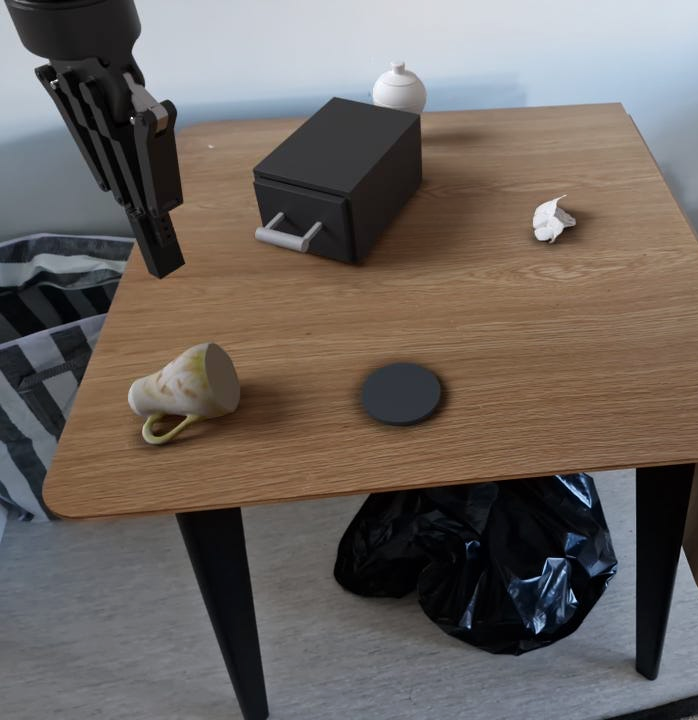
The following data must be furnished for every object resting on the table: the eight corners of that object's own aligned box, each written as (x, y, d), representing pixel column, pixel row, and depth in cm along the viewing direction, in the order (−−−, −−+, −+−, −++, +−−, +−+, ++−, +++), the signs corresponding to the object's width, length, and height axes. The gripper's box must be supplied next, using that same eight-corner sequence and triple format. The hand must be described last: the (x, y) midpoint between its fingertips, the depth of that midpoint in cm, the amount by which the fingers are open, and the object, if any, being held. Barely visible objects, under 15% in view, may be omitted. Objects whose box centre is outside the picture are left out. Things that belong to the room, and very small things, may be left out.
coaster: (421, 435, 70) (421, 431, 69) (347, 412, 72) (346, 408, 71) (452, 379, 75) (452, 375, 75) (382, 358, 77) (382, 354, 76)
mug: (134, 390, 73) (160, 310, 69) (229, 420, 76) (260, 346, 72) (109, 435, 67) (136, 350, 62) (214, 466, 70) (246, 388, 65)
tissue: (518, 233, 93) (520, 208, 90) (548, 204, 98) (550, 179, 95) (556, 248, 91) (560, 223, 88) (585, 218, 96) (588, 193, 93)
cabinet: (358, 263, 88) (349, 192, 81) (268, 240, 91) (252, 168, 83) (423, 182, 101) (420, 114, 94) (342, 163, 104) (333, 96, 96)
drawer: (328, 287, 83) (318, 228, 77) (243, 264, 86) (227, 204, 80) (412, 184, 99) (409, 128, 93) (337, 166, 101) (330, 111, 95)
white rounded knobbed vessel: (437, 138, 109) (436, 59, 101) (407, 160, 105) (403, 79, 96) (396, 124, 112) (392, 46, 103) (366, 144, 107) (358, 65, 99)
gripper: (178, -16, 46) (252, 274, 63) (54, -56, 51) (153, 222, 68) (74, 21, 42) (183, 321, 59) (-52, -28, 47) (83, 263, 63)
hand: (167, 268), depth 63 cm, fingers closed
